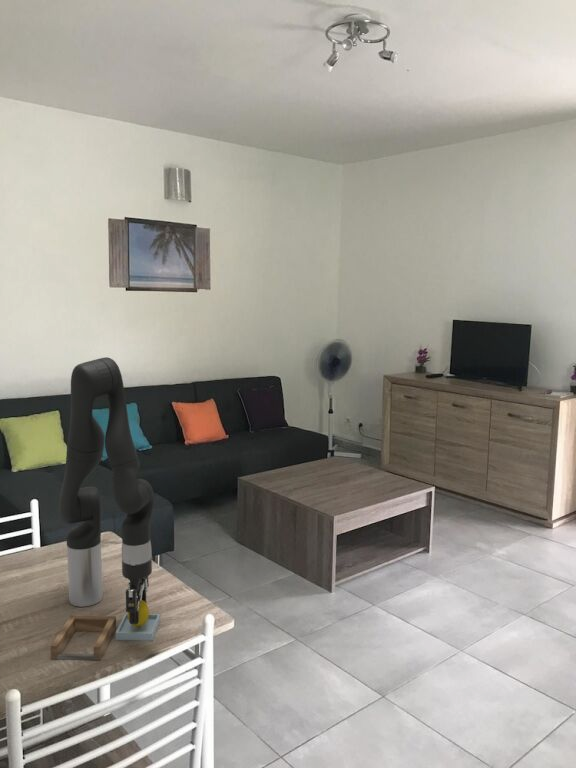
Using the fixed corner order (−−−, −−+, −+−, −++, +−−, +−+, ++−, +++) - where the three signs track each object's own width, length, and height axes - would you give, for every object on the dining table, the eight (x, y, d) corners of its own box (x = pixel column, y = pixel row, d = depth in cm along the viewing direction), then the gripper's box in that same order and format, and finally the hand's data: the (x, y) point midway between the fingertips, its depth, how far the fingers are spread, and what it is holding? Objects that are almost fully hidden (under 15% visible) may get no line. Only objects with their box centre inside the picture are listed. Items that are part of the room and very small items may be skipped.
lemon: (140, 619, 171) (139, 592, 169) (153, 626, 167) (153, 598, 166) (123, 628, 166) (122, 599, 165) (136, 635, 163) (135, 607, 162)
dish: (125, 620, 172) (125, 613, 171) (160, 620, 172) (159, 614, 171) (115, 639, 162) (115, 632, 162) (152, 640, 162) (152, 633, 162)
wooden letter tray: (71, 627, 168) (70, 615, 167) (116, 628, 168) (116, 616, 167) (51, 659, 154) (50, 646, 153) (100, 660, 154) (99, 647, 153)
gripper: (129, 544, 171) (131, 600, 173) (114, 569, 157) (116, 629, 159) (157, 545, 171) (158, 601, 173) (144, 569, 157) (146, 629, 159)
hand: (138, 614), depth 166 cm, fingers open, 8 cm apart
